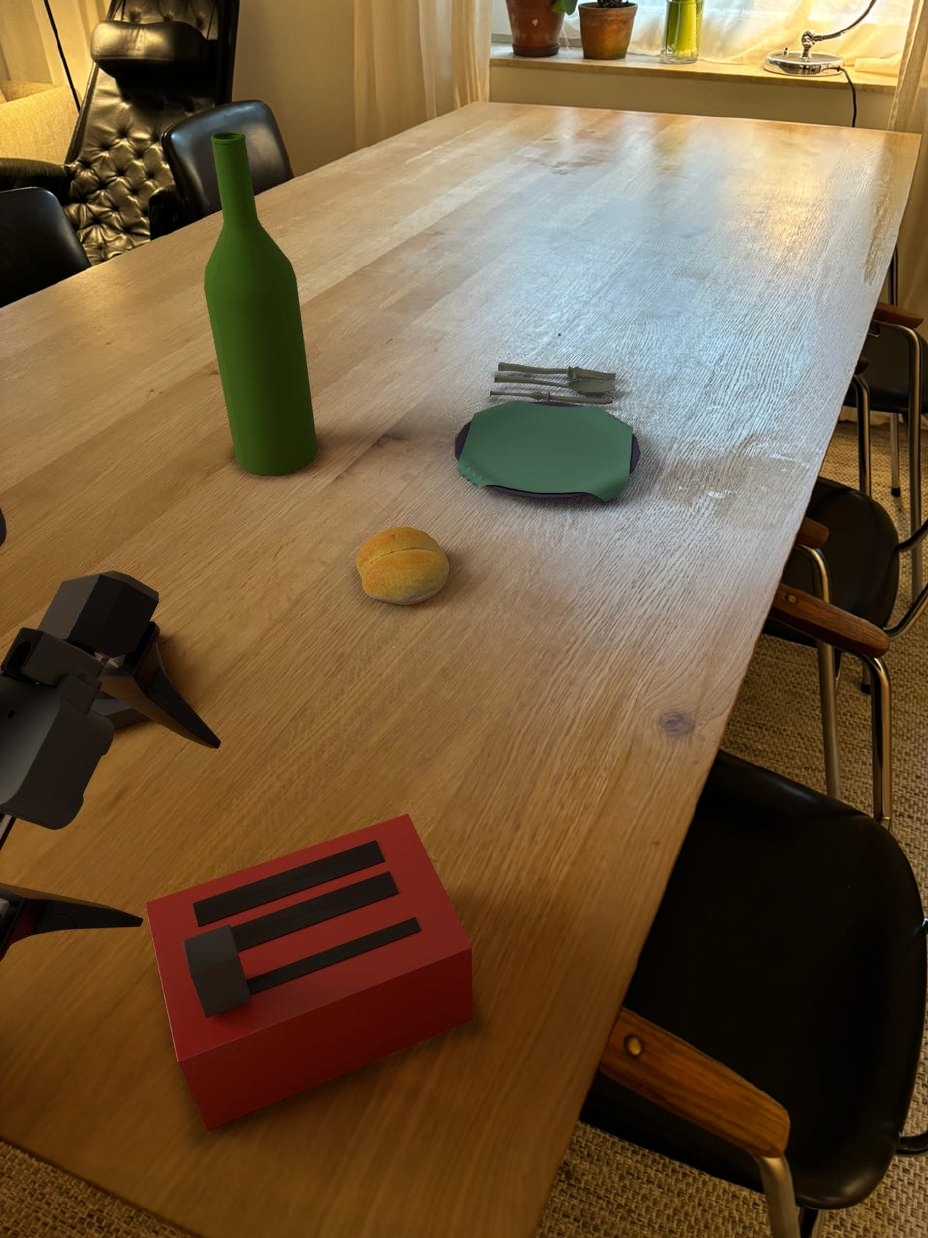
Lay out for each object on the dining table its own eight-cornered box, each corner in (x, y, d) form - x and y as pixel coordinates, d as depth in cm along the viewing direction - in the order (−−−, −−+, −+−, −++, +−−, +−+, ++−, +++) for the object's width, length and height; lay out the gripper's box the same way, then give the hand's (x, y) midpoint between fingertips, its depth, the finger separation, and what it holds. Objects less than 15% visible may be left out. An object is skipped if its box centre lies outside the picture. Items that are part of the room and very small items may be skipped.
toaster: (206, 1131, 55) (176, 1061, 49) (172, 976, 62) (144, 901, 56) (473, 1020, 59) (472, 946, 54) (413, 888, 66) (407, 811, 61)
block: (72, 741, 77) (60, 709, 74) (59, 660, 84) (47, 629, 81) (176, 711, 79) (167, 679, 77) (155, 635, 86) (146, 604, 84)
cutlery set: (438, 504, 101) (437, 485, 99) (483, 370, 123) (483, 353, 122) (635, 521, 98) (637, 502, 97) (645, 381, 121) (647, 363, 119)
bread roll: (370, 616, 88) (366, 581, 85) (352, 557, 94) (348, 523, 92) (460, 600, 89) (459, 564, 87) (436, 543, 96) (435, 509, 93)
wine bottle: (268, 427, 113) (219, 117, 92) (333, 445, 110) (298, 128, 89) (218, 463, 107) (154, 141, 86) (286, 484, 104) (236, 154, 83)
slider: (206, 1019, 51) (189, 974, 48) (198, 985, 52) (181, 940, 49) (252, 1001, 51) (238, 956, 49) (243, 969, 53) (229, 923, 50)
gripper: (-233, 967, 31) (177, 1070, 40) (44, 476, 38) (342, 660, 47) (-283, 909, 39) (68, 1006, 48) (-47, 513, 46) (222, 664, 55)
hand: (178, 830), depth 49 cm, fingers open, 9 cm apart
